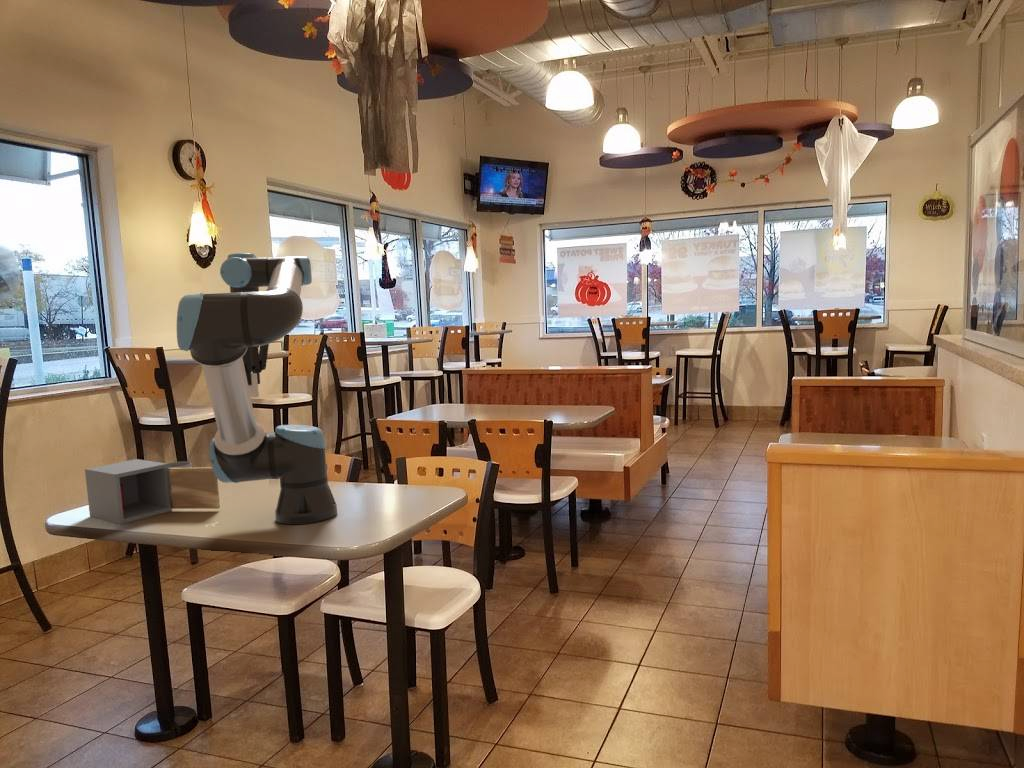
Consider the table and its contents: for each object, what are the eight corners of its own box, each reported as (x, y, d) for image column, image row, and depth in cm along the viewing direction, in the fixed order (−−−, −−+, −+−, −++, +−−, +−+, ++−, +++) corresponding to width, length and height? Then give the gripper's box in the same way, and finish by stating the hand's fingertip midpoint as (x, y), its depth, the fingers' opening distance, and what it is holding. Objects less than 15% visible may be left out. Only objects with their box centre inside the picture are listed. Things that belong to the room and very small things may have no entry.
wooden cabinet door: (175, 506, 200) (171, 466, 199) (222, 506, 197) (219, 466, 196) (169, 508, 198) (165, 468, 196) (217, 508, 195) (213, 468, 194)
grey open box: (172, 510, 199) (167, 463, 197) (120, 524, 187) (114, 474, 186) (141, 503, 208) (136, 459, 206) (89, 516, 196) (84, 469, 195)
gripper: (260, 310, 207) (267, 393, 209) (216, 312, 197) (224, 399, 199) (275, 309, 202) (282, 394, 204) (231, 311, 192) (239, 400, 194)
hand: (253, 396), depth 202 cm, fingers closed
